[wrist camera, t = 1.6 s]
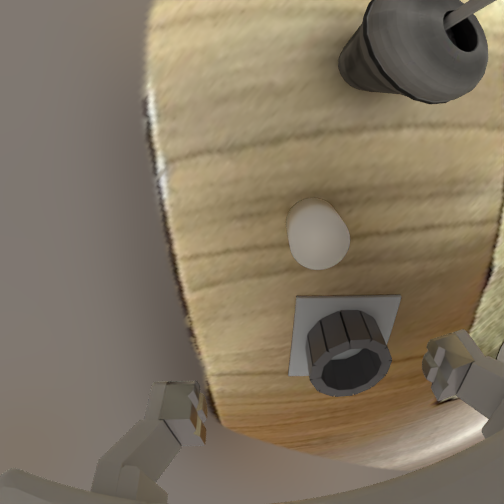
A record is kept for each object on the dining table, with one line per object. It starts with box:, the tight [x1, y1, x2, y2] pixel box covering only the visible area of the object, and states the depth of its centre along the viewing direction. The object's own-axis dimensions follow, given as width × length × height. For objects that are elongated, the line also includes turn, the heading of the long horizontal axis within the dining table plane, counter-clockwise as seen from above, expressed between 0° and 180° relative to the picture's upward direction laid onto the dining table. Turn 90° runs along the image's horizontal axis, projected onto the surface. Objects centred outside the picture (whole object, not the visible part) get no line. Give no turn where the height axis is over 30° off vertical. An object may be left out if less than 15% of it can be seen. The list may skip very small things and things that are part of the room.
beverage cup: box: [338, 0, 496, 104], centre depth 13 cm, size 7×7×20 cm
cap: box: [286, 198, 350, 270], centre depth 27 cm, size 5×5×4 cm
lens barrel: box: [288, 295, 401, 397], centre depth 32 cm, size 12×12×5 cm
